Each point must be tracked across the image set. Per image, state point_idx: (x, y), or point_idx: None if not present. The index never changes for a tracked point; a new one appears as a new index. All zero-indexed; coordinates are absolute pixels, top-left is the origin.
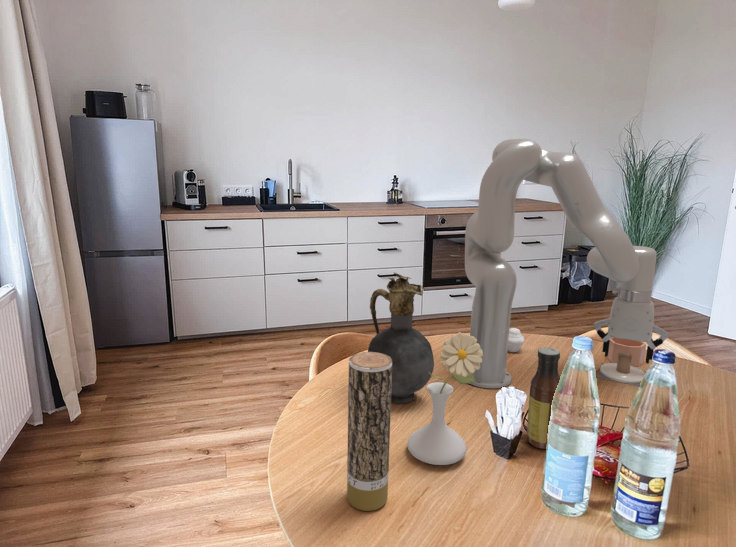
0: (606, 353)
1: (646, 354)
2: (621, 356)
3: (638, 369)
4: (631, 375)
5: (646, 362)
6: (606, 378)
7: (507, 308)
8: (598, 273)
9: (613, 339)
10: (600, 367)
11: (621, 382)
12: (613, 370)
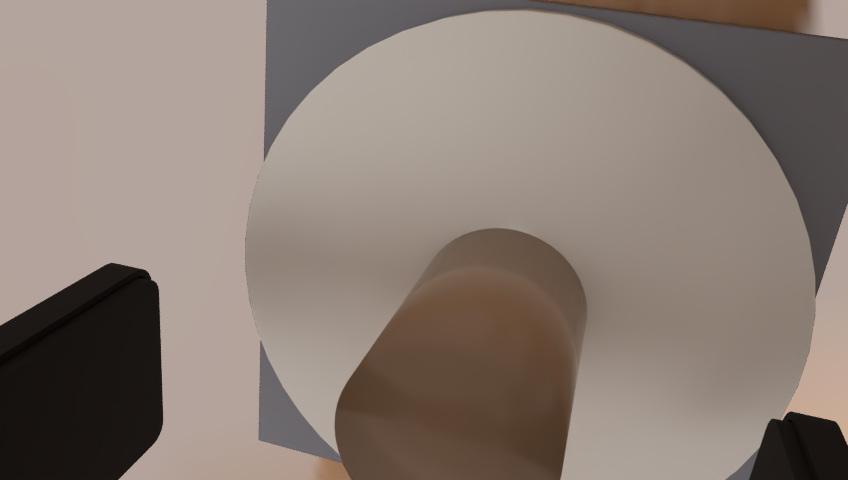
0: (819, 448)
1: (99, 446)
2: (518, 372)
3: (317, 408)
4: (406, 193)
5: (141, 279)
6: (757, 72)
7: None
8: None
9: None
10: None
11: (553, 7)
12: (628, 290)
